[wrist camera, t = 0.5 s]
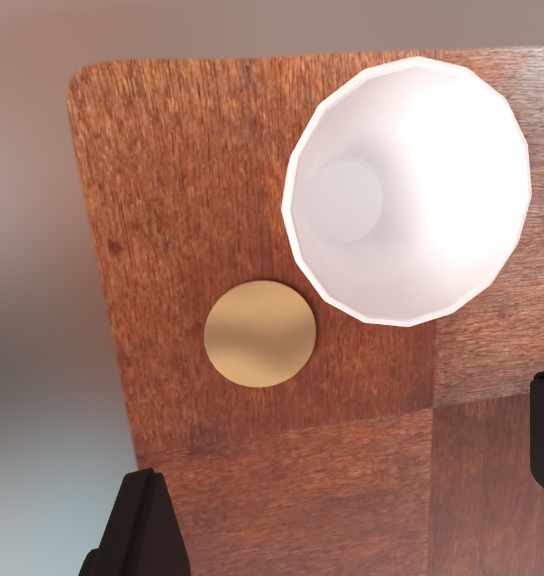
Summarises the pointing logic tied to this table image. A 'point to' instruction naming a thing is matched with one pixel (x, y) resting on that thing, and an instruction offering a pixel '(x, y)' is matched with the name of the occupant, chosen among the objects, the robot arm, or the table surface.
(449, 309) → the cup
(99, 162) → the table surface
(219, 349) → the coaster
